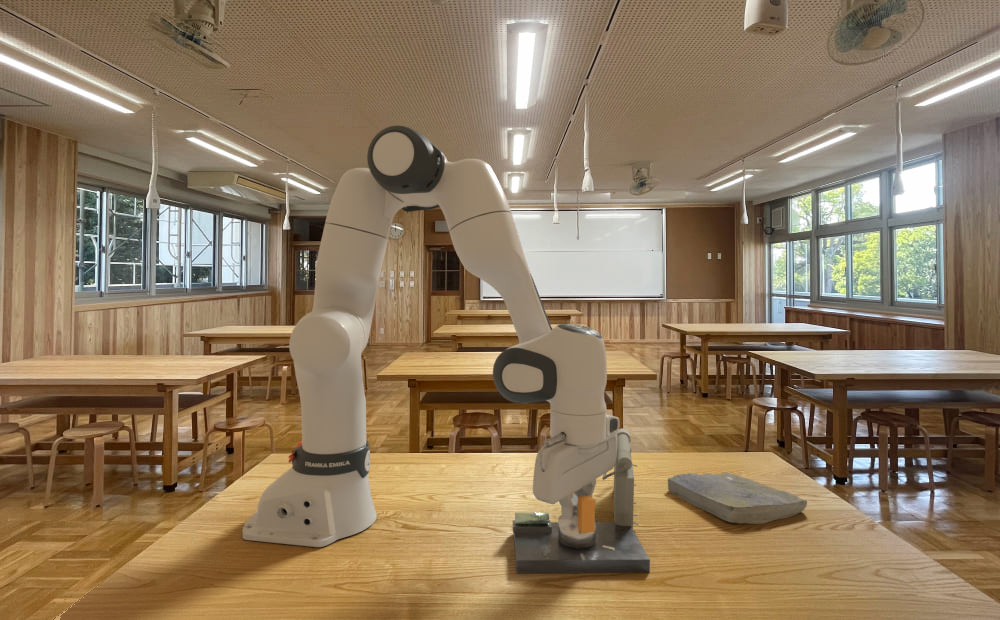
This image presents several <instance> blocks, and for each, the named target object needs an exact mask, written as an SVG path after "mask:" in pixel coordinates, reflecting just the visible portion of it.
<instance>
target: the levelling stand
mask: <svg viewBox="0 0 1000 620" xmlns="http://www.w3.org/2000/svg"><path fill="white" fill-rule="evenodd" d="M512 533H513V545H514V546H513V547H514V556H515V568H516V569H515V570H516V571H515V572H516V574H577V573H578V574H594V573H595V574H597V573H598V574H599V573H601V574H604V573H606V574H608V573H613V574H614V573H616V574H617V573H618V574H619V573H621V574H622V573H629V574H630V573H631V574H632V573H651V571H650V569H651V568H650V565H651V558H650V557H649V555H648V553H647V552H646V550H645V548H644V546H643V545H642V543H641V542H640V539H639V537H638V536H637V533H635V530H634V528H633V529H632V527H631V526H622V525H617V524H615V522H614V521H596V542H595V543H594V544H593V545H592V546H590V547H586V548H573V547H569V546H566V545H564V544H562V543H561V542H560V541H559V539H558V521H556V522H555V521H554V522H553V521H551V520H550V513H549V512H536V511H532V512H515V513H514V520H512Z"/></svg>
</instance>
